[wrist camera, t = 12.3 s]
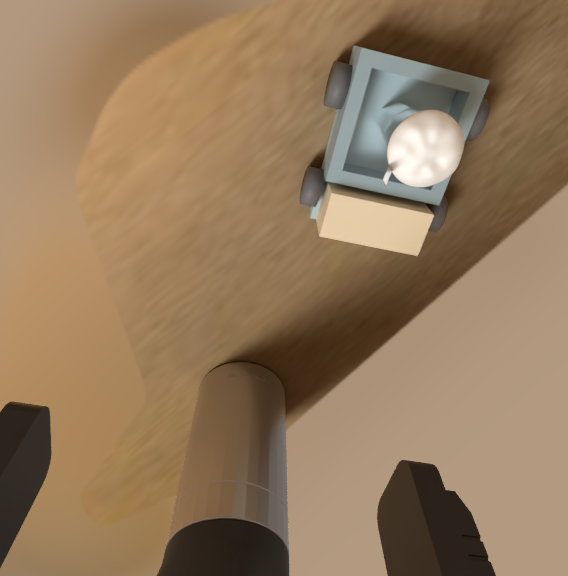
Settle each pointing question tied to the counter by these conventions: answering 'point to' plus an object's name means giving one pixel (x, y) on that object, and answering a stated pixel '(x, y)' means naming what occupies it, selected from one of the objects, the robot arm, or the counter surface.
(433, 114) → the milkshake
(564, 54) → the counter surface
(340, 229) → the chassis
